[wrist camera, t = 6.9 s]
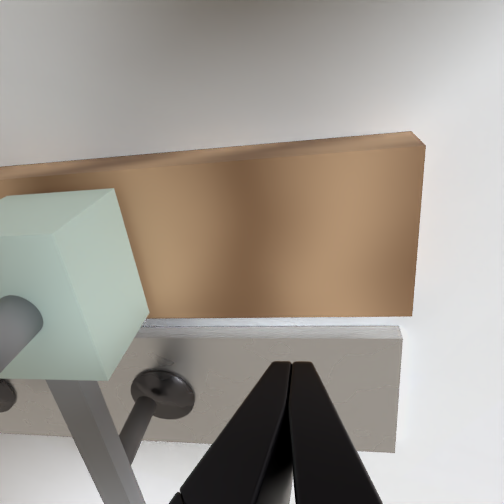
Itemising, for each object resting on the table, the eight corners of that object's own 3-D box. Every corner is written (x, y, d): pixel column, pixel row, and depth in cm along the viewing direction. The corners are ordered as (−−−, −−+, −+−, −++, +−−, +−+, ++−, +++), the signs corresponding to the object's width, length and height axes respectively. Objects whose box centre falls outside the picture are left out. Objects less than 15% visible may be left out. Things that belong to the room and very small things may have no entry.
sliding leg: (125, 179, 14) (6, 267, 9) (197, 447, 20) (154, 593, 15) (23, 187, 15) (-145, 273, 9) (124, 443, 21) (58, 581, 16)
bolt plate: (398, 325, 17) (403, 341, 16) (392, 438, 20) (395, 455, 19) (-64, 328, 21) (-79, 339, 20) (-9, 420, 24) (-20, 434, 23)
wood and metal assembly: (411, 131, 13) (473, 193, 8) (392, 431, 20) (419, 573, 15) (-151, 179, 17) (-355, 241, 12) (-12, 414, 24) (-104, 520, 19)
